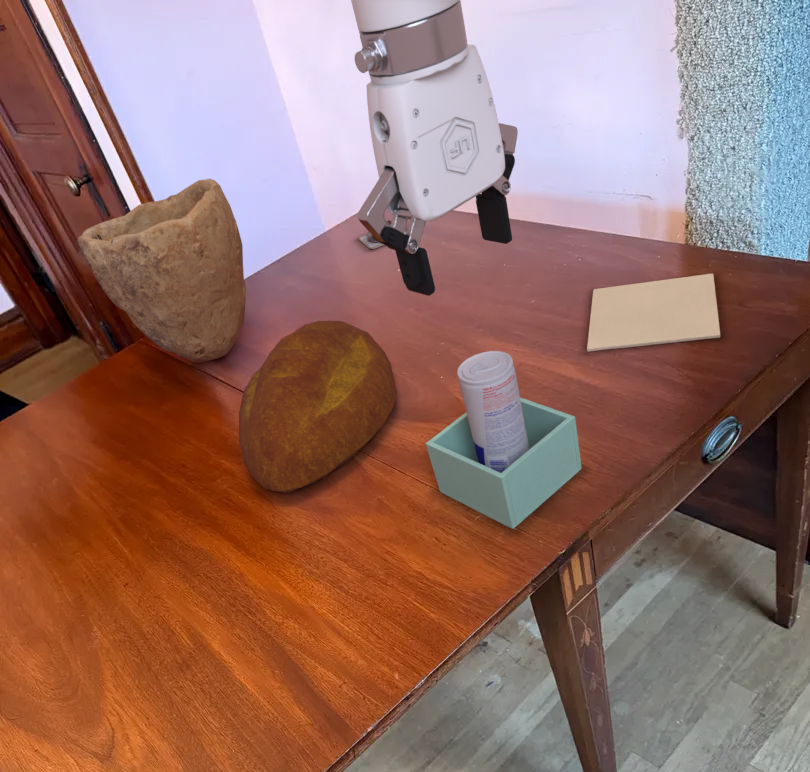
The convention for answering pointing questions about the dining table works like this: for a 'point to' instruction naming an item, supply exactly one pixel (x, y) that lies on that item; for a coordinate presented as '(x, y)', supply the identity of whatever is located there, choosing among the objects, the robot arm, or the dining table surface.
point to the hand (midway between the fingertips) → (460, 265)
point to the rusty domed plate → (370, 241)
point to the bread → (314, 404)
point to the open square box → (523, 480)
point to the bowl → (175, 270)
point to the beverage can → (493, 408)
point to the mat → (654, 313)
